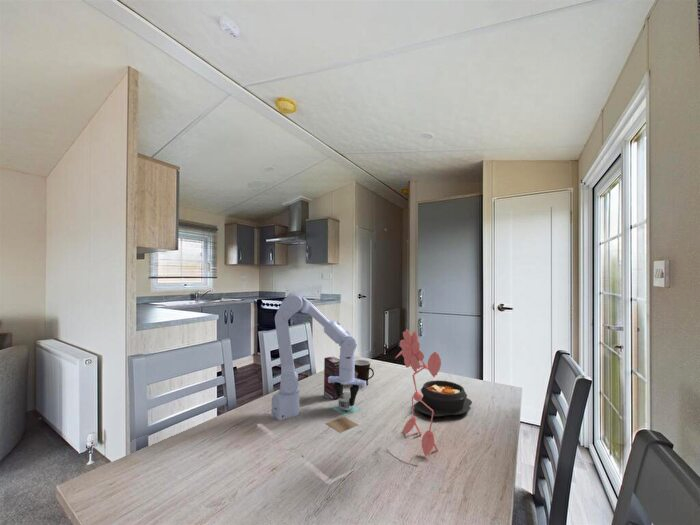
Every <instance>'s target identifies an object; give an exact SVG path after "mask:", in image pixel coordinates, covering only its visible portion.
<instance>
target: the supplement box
mask: <svg viewBox="0 0 700 525" xmlns="http://www.w3.org/2000/svg"><path fill="white" fill-rule="evenodd" d="M339 359H340V358H337V357H335V356H329V357H324V362H323V363H324V365H323V366H324V367H323V368H324V369H323V370H324V371H323V375H324V376H323V378H324V380H323V396H324V397H325V398H326V399H330V400H332V401H339V400H338V397H337V394H336V391H335V390H334V388H333V386H334V384H335V383H332V382H331V383H328V377H330V376H339Z"/></svg>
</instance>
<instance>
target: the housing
mask: <svg viewBox="0 0 700 525" xmlns="http://www.w3.org/2000/svg"><path fill="white" fill-rule="evenodd" d="M338 406H339V409H342V410H348V411H349V410H350V409H351V407H352V406H351V394H350V391H349V392H347V391H343V394H342V395H341V396H340V397H339V400H338Z"/></svg>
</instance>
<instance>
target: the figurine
mask: <svg viewBox="0 0 700 525" xmlns="http://www.w3.org/2000/svg"><path fill="white" fill-rule="evenodd" d="M418 336H419V335H418V333H417V331H415V330H413V332H412V334H411V332H410V331H409V329H407V328H406V329H405V331H403V332H402V337H403V339H401V340H400V341H399V347H400V348H401V351H400V352H399V353H398V354H397V355H396V356H395V357H394V359H397V358H398V357H399V356H403V362H404V365H405V368H409V367H410V366H411V369H412V370H413V371H414V372H413V374H412V380H413V385H414V389H415V392H414V393H413V396H412V397H411V418H409V419H408V420H407V422H406V423H405V425H404V427H403V429H402V431H401V432H402V433H403V434H404V435H407V434H409V433H410V432H411V431H412V430H413V428H414V427H416V428H415V429H417V432H418V435H419V436H420V437H421V436H422V438H421V448H422V451H423V454H424V456H425V457H426V456H428V455H429V454H430V453H431V452H432V450H433V448H434V449H435V451H436V452H437V451H439V449H438V447H437V446H436V443H435V435H434V432H433V431H431V429H432V425H433V418H434V416H433V414H434V412H433V410H432V409H431V408H430V407H428V406H427V405H426V404H425V403H424V402H423V401H421V400H422V397H423V394H422V393H421V391H418V389H417V385H416V379H415V375H416V374H418V373H420V372H421V371H423V370H424V369H427V370H428V371H429V373H430V375H431V376H432V377H433V378H435V377H436V376H437V375H438V373H439V372H440V370H441V366H442V359H441V357H440V354H438V353H437V351H435V350H434V351H433V353H431V354H430V356H429V358H428V360H427V364H426V363H425V361H424V358H425V354H424V353H423V351H422V350H421V349H420V342H419V338H418ZM420 362H421V364H420ZM414 400H415V401H416V402H418V401H421V402H422V403H423V404H424V405H425V406H427V407H428V408H429V409H430V410H431V411H432V416H430V417H431V418H430V424H429V430H427V431H425V432H424V434H423V435H422V432H421V430H420V429H419V426H418V425H417V417H415V416H414ZM387 453H388V454H389V455H392V456H393V458H395V459H397V460H399V462H400V463H404V464H408V465H411V466H415V467H418V465H417V464H412V463H409V462H406V461H404V460H401V459H399V457H398V458H397V457H396V456H395V455H393V454H392V453H391V452H390V450H387Z"/></svg>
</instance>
